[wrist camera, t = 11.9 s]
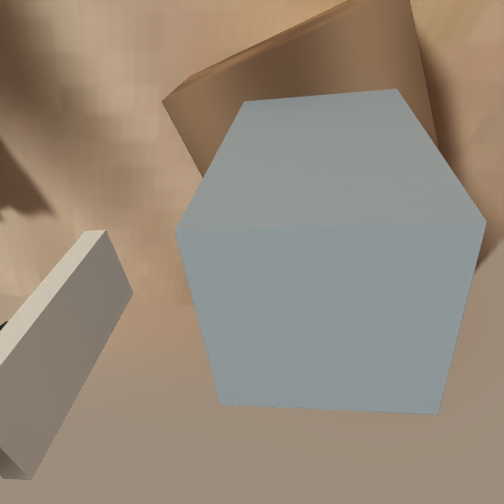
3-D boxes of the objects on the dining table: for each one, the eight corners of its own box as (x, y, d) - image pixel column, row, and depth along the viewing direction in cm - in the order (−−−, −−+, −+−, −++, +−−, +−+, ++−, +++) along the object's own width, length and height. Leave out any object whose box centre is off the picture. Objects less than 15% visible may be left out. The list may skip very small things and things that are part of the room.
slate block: (259, 226, 20) (220, 404, 12) (244, 101, 16) (174, 230, 8) (385, 222, 19) (437, 414, 11) (397, 88, 15) (487, 221, 7)
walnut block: (265, 228, 26) (256, 277, 22) (191, 75, 21) (161, 101, 17) (429, 177, 22) (453, 224, 18) (386, -19, 18) (406, -15, 14)
